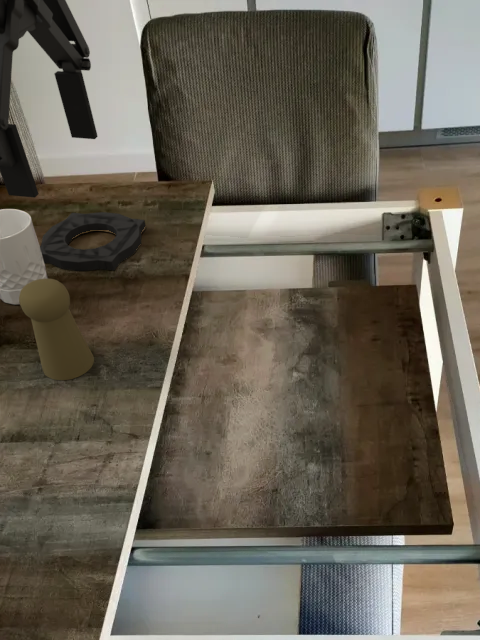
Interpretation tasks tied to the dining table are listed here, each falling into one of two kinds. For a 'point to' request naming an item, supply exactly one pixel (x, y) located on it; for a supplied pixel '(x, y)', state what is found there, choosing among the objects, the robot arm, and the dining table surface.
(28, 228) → the white cup
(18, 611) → the dining table surface
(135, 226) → the base pad
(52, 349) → the olive pawn
